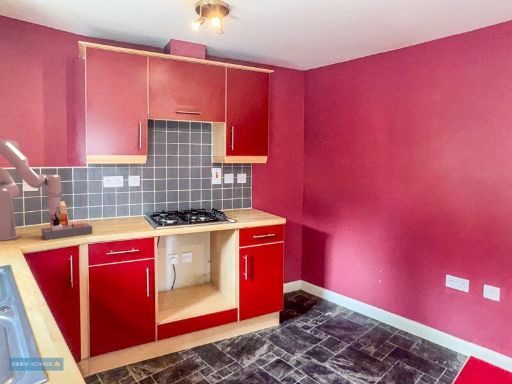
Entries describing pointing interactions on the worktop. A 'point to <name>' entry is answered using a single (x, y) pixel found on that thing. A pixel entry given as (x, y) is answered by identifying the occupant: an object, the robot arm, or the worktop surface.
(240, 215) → the worktop surface
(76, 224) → the terracotta key
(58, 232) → the key block
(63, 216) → the milk carton
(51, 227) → the ivory key
